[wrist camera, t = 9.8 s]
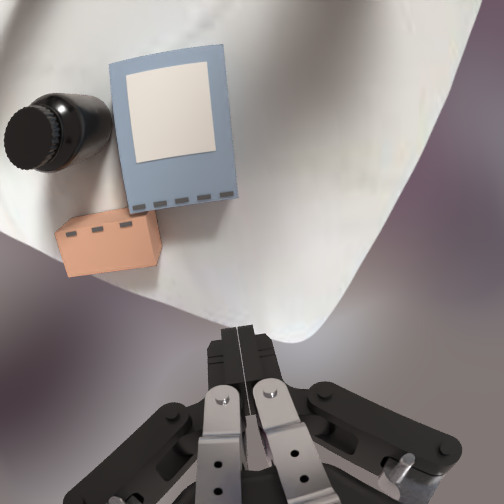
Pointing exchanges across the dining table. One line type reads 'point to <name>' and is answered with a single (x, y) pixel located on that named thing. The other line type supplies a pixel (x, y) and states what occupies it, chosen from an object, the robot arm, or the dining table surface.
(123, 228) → the tan rectangular block
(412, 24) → the dining table surface
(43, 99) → the supplement bottle
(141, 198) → the block
